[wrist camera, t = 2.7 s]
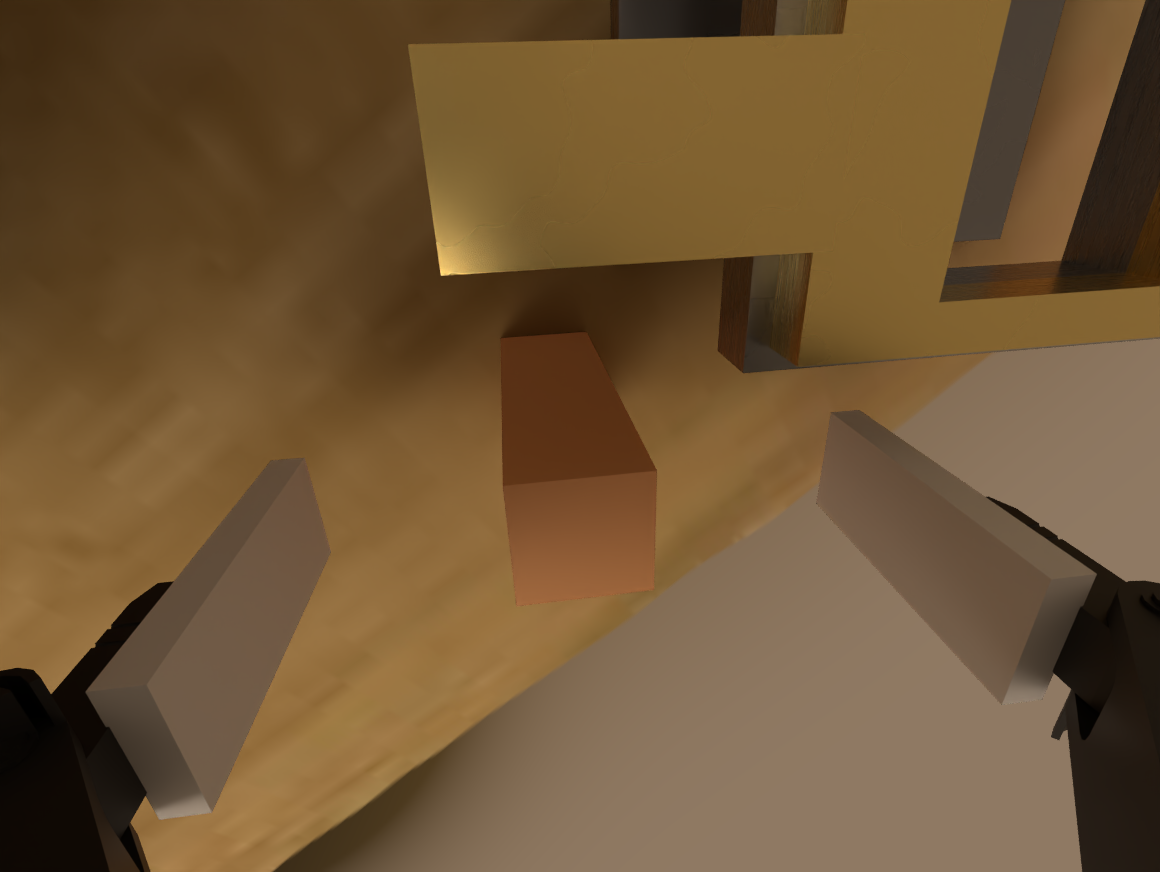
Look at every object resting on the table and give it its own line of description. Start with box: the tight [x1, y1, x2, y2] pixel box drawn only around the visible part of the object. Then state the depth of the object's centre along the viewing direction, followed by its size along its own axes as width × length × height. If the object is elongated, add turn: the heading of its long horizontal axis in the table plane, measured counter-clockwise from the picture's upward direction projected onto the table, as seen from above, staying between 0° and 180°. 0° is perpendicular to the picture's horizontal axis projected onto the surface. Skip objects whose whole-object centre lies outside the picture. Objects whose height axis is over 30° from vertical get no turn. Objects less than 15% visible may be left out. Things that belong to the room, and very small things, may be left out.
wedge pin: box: [501, 332, 657, 606], centre depth 16 cm, size 3×3×10 cm
